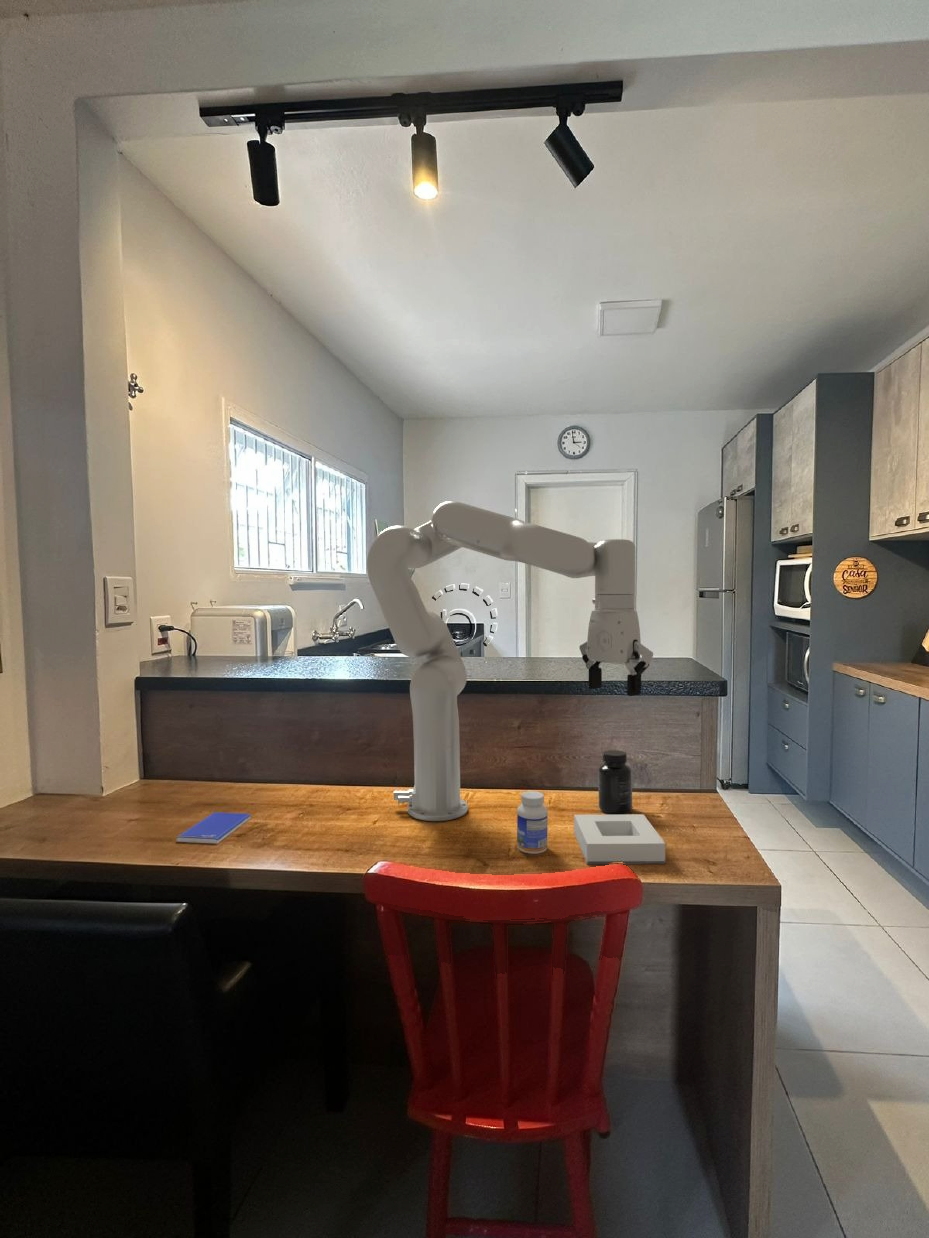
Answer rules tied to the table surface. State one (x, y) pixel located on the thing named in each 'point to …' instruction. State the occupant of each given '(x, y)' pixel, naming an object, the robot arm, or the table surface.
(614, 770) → the supplement bottle
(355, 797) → the table surface
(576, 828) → the housing
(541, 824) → the pill bottle
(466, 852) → the table surface
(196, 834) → the hard drive
